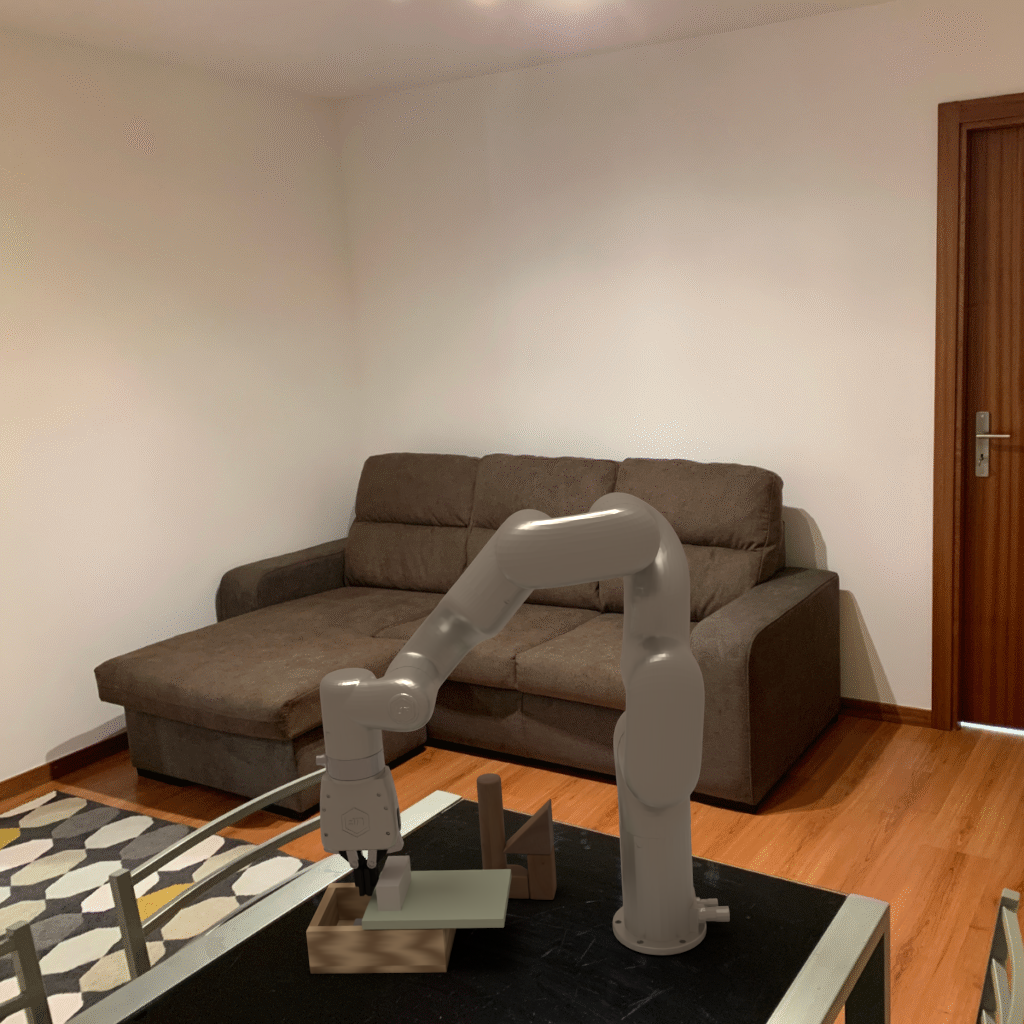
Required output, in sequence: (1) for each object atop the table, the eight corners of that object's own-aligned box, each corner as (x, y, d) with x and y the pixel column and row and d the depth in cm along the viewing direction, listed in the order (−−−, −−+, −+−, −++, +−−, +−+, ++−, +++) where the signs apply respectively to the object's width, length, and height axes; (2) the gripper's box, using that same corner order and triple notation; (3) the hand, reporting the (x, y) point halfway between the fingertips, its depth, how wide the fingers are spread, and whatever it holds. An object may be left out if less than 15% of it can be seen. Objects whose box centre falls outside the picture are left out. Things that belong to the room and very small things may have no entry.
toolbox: (458, 920, 143) (455, 880, 142) (446, 972, 131) (442, 929, 130) (333, 922, 145) (329, 883, 144) (310, 973, 133) (306, 931, 132)
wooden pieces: (553, 901, 146) (546, 784, 144) (481, 898, 148) (472, 782, 146) (557, 887, 150) (550, 773, 147) (486, 885, 152) (477, 772, 149)
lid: (511, 877, 142) (509, 845, 141) (503, 927, 129) (501, 893, 129) (382, 879, 143) (379, 848, 142) (362, 929, 131) (359, 895, 130)
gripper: (292, 776, 131) (306, 907, 134) (406, 772, 130) (417, 905, 132) (308, 752, 138) (321, 877, 141) (416, 749, 137) (427, 875, 140)
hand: (368, 890), depth 137 cm, fingers closed
